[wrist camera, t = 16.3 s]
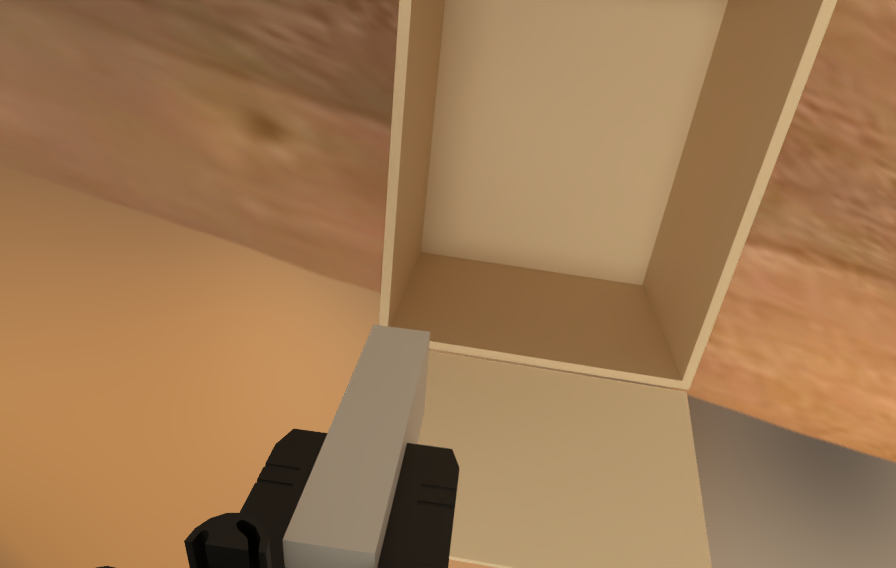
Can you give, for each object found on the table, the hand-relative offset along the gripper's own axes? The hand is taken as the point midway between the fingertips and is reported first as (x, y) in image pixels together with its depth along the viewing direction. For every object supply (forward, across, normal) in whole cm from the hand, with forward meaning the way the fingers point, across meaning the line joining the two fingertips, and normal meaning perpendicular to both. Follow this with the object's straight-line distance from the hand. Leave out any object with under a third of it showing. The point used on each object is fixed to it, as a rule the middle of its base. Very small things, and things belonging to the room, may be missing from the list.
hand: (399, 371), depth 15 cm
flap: (+12, +6, -14) cm, 19 cm away
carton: (+32, +6, 0) cm, 33 cm away
